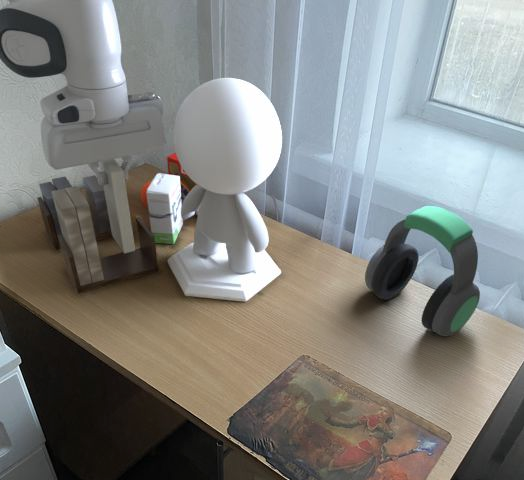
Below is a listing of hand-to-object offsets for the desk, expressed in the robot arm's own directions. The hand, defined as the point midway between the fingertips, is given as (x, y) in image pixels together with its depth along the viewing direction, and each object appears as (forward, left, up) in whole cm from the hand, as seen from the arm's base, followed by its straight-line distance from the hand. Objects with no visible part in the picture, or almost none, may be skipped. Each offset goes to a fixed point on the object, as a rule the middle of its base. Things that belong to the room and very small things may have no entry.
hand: (113, 181), depth 94 cm
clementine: (+14, +19, -18) cm, 30 cm away
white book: (0, 0, -13) cm, 13 cm away
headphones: (+43, -37, -18) cm, 59 cm away
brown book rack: (-3, 0, -18) cm, 18 cm away
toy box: (+23, +12, -18) cm, 32 cm away
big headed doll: (+17, -9, -18) cm, 27 cm away
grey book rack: (-3, +16, -18) cm, 24 cm away
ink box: (+12, +8, -18) cm, 23 cm away
